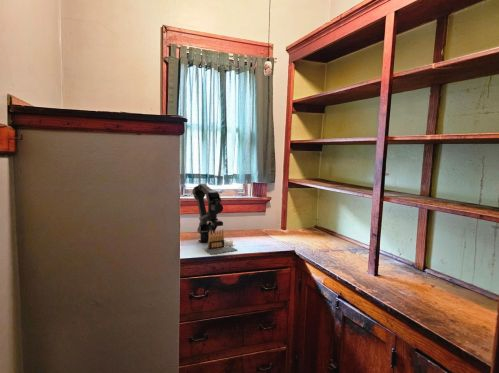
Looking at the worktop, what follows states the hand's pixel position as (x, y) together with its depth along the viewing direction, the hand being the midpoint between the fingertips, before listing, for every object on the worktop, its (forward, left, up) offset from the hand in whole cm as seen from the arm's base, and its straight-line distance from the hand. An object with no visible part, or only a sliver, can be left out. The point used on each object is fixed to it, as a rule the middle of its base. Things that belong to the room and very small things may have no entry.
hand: (212, 234), depth 203 cm
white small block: (+3, +10, -8) cm, 13 cm away
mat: (+13, 0, -8) cm, 15 cm away
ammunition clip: (+6, 0, -8) cm, 10 cm away
